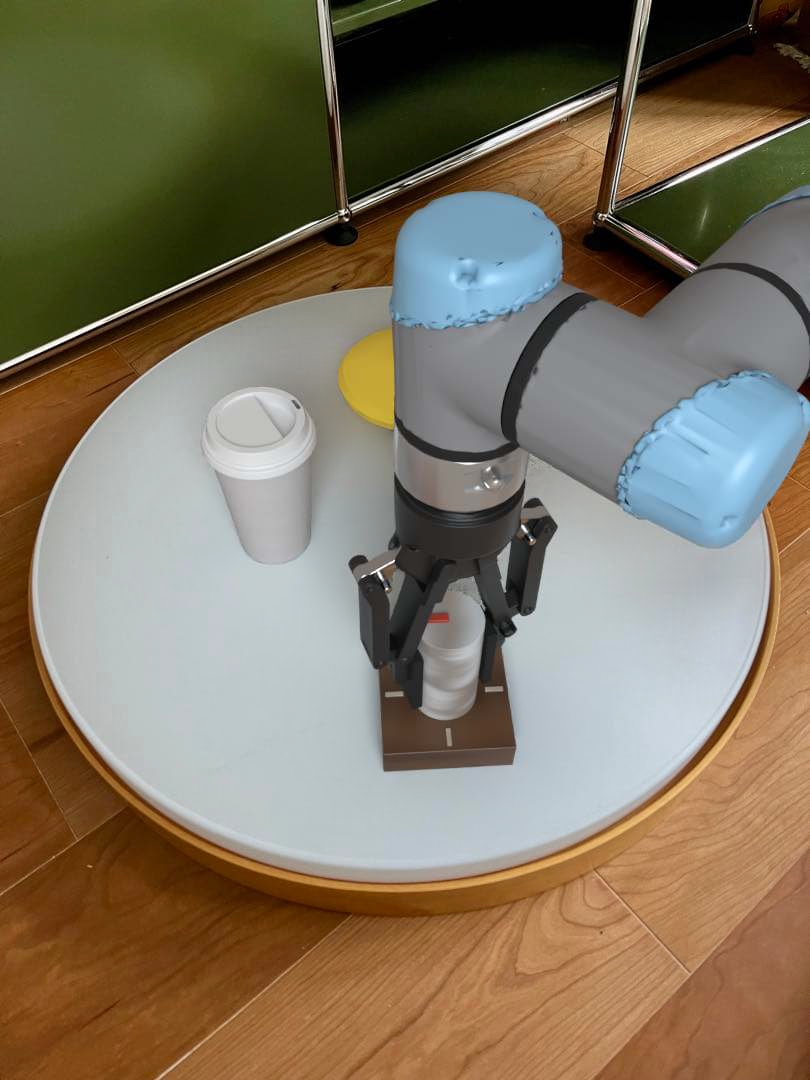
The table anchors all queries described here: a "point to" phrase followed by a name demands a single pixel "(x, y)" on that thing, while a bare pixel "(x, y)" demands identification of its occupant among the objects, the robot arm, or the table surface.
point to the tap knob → (452, 656)
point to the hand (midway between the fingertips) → (444, 680)
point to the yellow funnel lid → (370, 378)
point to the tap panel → (448, 728)
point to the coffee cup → (264, 469)
